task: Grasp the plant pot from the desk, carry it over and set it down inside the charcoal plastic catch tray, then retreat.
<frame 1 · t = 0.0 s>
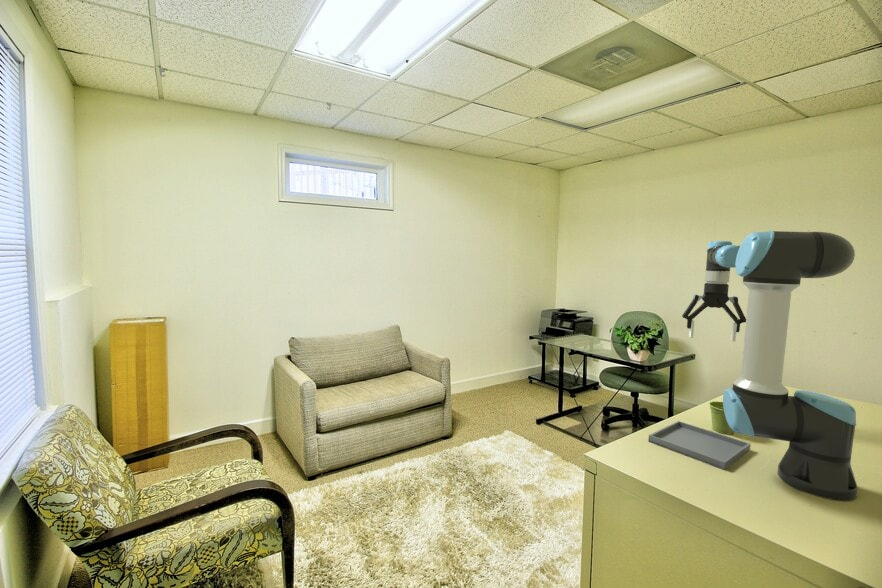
hand: (711, 339, 153), 28 cm above the table, fingers open, 13 cm apart
catch tray: (698, 445, 125), on the table
plant pot: (723, 431, 137), on the table
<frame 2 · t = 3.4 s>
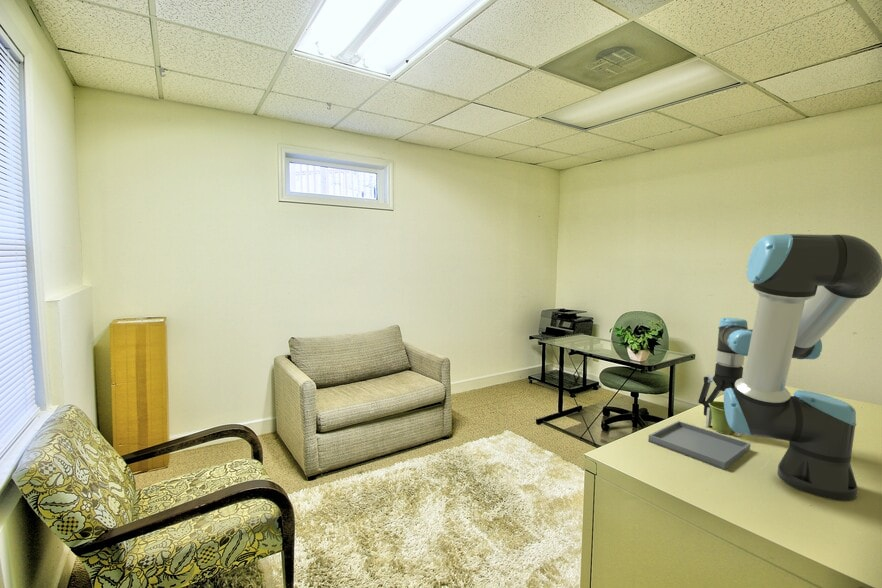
hand: (723, 429, 137), 0 cm above the table, fingers closed on plant pot, 8 cm apart
plant pot: (723, 431, 137), on the table, touching gripper
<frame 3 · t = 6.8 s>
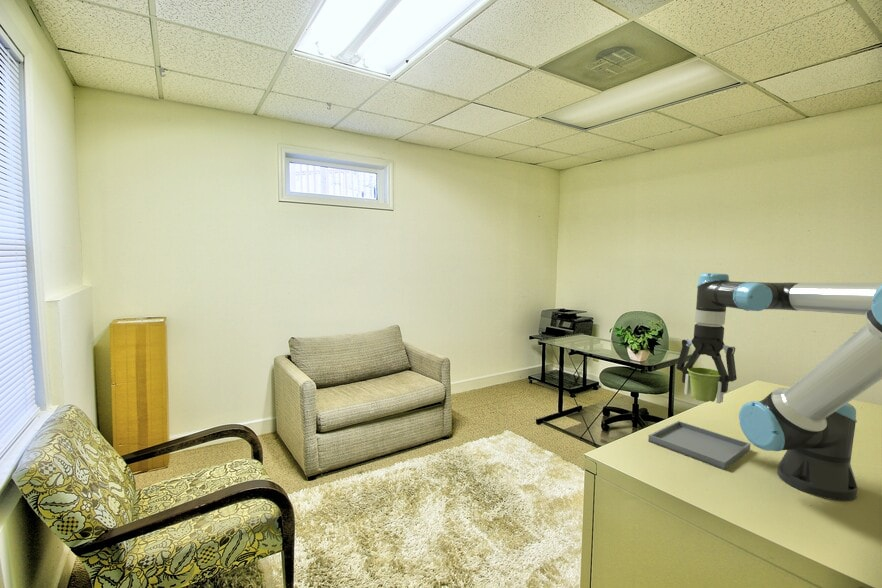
hand: (703, 397, 124), 15 cm above the table, fingers closed on plant pot, 8 cm apart
plant pot: (702, 399, 124), point 15 cm above the table, touching gripper
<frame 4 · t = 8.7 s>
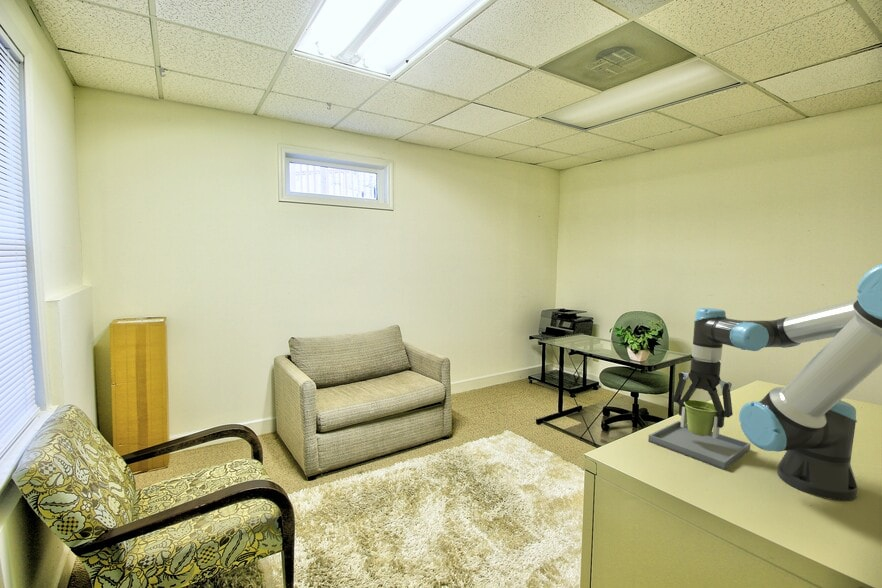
hand: (699, 431, 125), 5 cm above the table, fingers closed on plant pot, 8 cm apart
plant pot: (699, 433, 125), point 4 cm above the table, touching gripper
when the fingers open (3 cm above the table, at t = 10.0 s): plant pot drops 2 cm, resting on catch tray.
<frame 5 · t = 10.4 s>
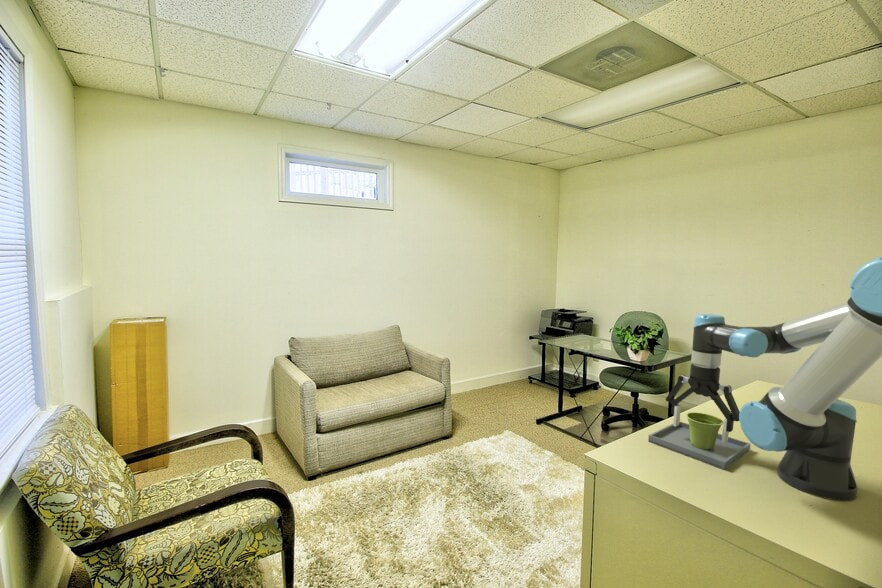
hand: (699, 432, 125), 4 cm above the table, fingers open, 13 cm apart
plant pot: (701, 446, 124), resting on catch tray
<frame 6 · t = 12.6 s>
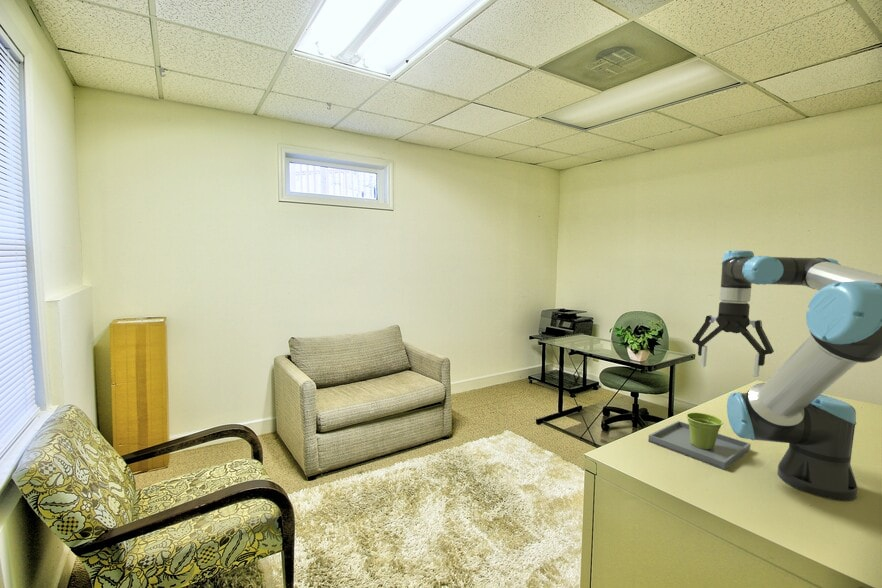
hand: (728, 371, 124), 24 cm above the table, fingers open, 13 cm apart
nothing on the table moved.
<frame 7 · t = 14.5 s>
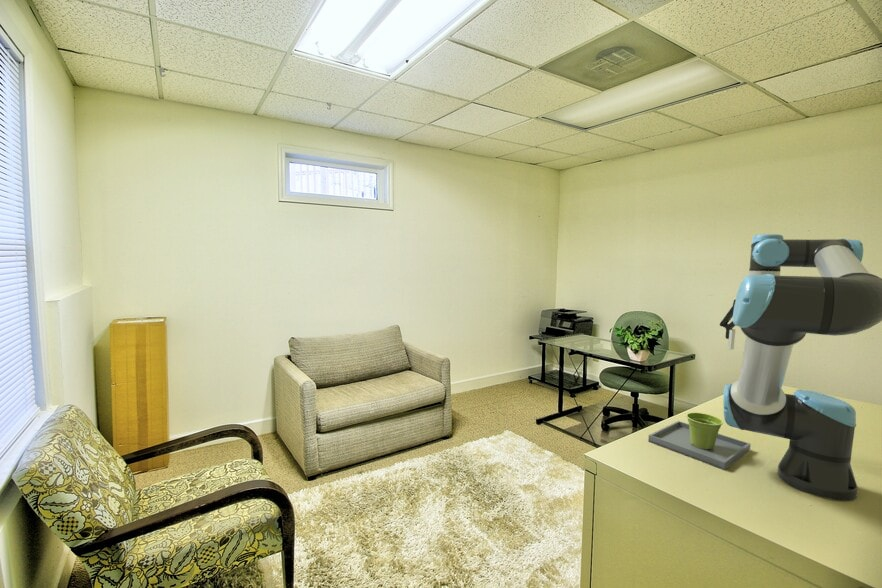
hand: (756, 353, 126), 29 cm above the table, fingers open, 13 cm apart
nothing on the table moved.
at the end: plant pot inside the target area on the catch tray (1.1 cm from its centre), point 0.4 cm above the catch tray's base; plant pot tilted 0°; the gripper is holding nothing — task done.
